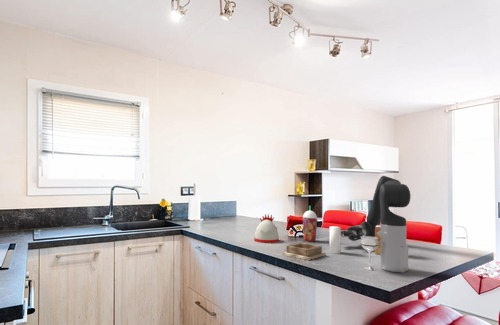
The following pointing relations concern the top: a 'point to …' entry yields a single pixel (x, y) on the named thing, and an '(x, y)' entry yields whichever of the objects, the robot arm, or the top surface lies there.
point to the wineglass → (369, 247)
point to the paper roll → (335, 240)
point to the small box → (378, 235)
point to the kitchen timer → (266, 231)
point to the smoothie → (309, 225)
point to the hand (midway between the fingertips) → (342, 235)
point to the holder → (304, 251)
